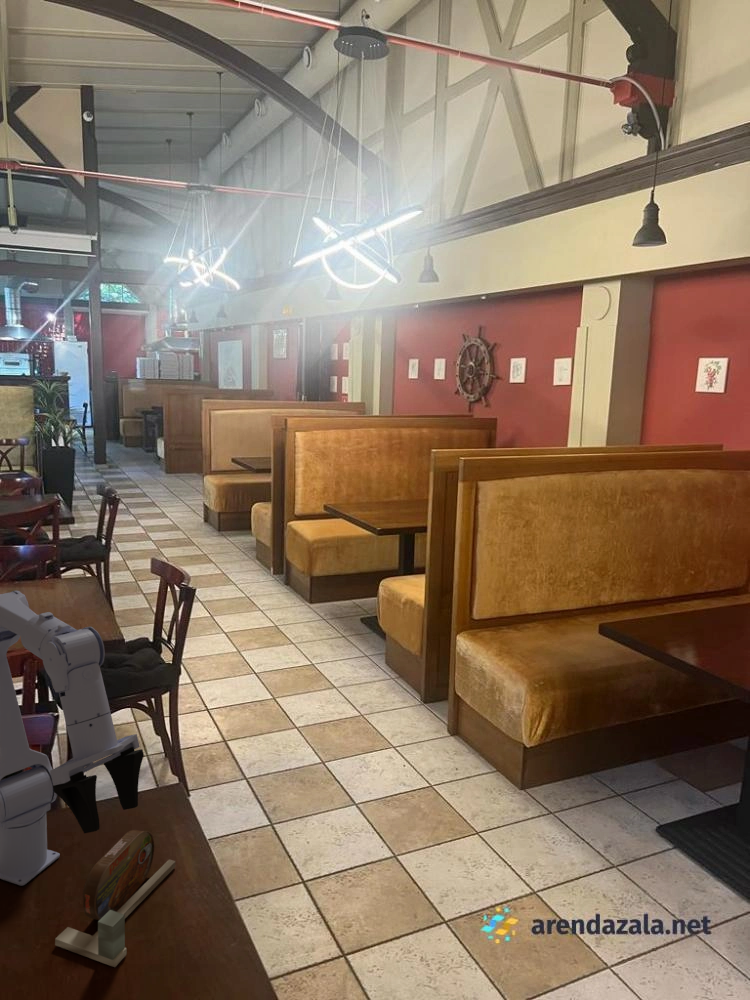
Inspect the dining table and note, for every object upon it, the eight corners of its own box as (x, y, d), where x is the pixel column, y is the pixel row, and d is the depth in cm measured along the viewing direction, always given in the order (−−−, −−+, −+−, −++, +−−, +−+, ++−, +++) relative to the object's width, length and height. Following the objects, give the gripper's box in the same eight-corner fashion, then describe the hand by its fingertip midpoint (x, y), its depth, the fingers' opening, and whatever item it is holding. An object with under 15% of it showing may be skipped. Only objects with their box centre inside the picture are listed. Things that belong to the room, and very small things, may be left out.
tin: (97, 935, 102) (97, 881, 101) (78, 930, 103) (78, 876, 101) (156, 868, 116) (156, 821, 115) (139, 864, 117) (139, 817, 116)
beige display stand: (55, 945, 99) (54, 906, 98) (146, 858, 118) (147, 824, 117) (114, 967, 96) (114, 927, 95) (199, 874, 115) (199, 840, 114)
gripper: (71, 728, 90) (97, 838, 88) (146, 699, 103) (169, 794, 102) (29, 739, 92) (53, 846, 90) (107, 709, 105) (129, 801, 104)
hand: (111, 819), depth 96 cm, fingers open, 7 cm apart
